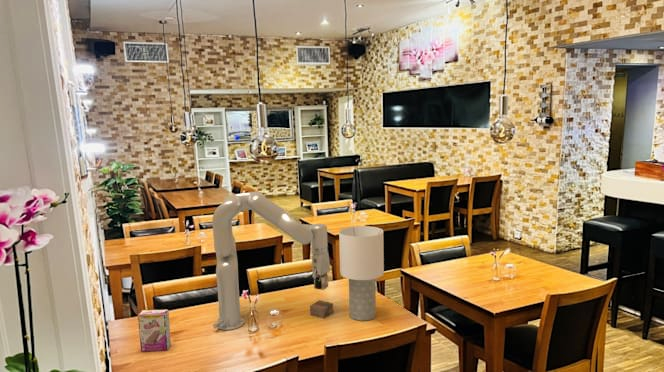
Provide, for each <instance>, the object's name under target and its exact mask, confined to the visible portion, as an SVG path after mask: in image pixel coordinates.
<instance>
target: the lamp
mask: <svg viewBox="0 0 664 372" xmlns="http://www.w3.org/2000/svg"><path fill="white" fill-rule="evenodd" d="M338 236H339V239H338V240H339V241H338V243H339V274H340V276H341V277H343V278H345V279H348V303H349V306H348V307H349V310H348V311H349V317H350V318H351V319H352V320H354V321H357V320H359V321H358V322H366V320H368V321H371V320H373V319H375V318H376V315H377V313H376V312H377V308H376V304H377V303H376V302H377V301H376V292H377V291H376V279H378V278H380V277H382V276H384V274H385V273H384V272H385V271H384V270H385V269H384V268H385V264H384V263H385V262H384V261H385V258H384V257H385V256H384V254H385V253H384V248H385V247H384V244H385V243H384V230H383V228H380V227H376V226H369V225H355V226H348V227H345V228H344V227H343V228H342V229H340V230H339V231H338Z"/></svg>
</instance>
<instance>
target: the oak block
mask: <svg viewBox="0 0 664 372" xmlns="http://www.w3.org/2000/svg"><path fill="white" fill-rule="evenodd" d="M317 277H318V278H319V276H317ZM313 281H314V282H313V285H314V289H315V290H317V289H316V288H315V280H314V279H313ZM320 281H321V284H322V289H319V290H321V291H325V290H326V289H327V288H328V287H329V274H328V273H327V274H323V275H322V276H321V280H320Z"/></svg>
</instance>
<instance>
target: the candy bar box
mask: <svg viewBox="0 0 664 372" xmlns="http://www.w3.org/2000/svg"><path fill="white" fill-rule="evenodd" d="M137 320H138V330H139V342H140V343H139V344H140V351H141V352H142V353H143V352H162V351H164V352H165V351H168V350H170V347H171V345H172V342H171V341H172V340H171V328H170V325H171V324H170V314H169V309H144V310H143V309H142V310H141V311H140V312H139V313H138V315H137Z"/></svg>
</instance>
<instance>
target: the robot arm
mask: <svg viewBox="0 0 664 372" xmlns="http://www.w3.org/2000/svg"><path fill="white" fill-rule="evenodd" d="M250 210H251V211H252V212H253V213H255V214H256V215H258V216H259V217H261V218H262V219H265V220H266V221H267V222H269V223H270V224H271V225H273V226H274V227H276V228H277V229H279V230H280V231H281V232H283V233H284V234H286V236H289V237H290V238H291V239H293V240H295V241H296V242H298V243H300V244H301V245H308V244H310V243H311V254H312V256H311V271H312V276H311V277H312V278H313V281H314V280H315V288H316V289H315V290H320V289H322V284H321V281H320V280H321V276H322V275H323V274H327V275H328V272H329V271H330V269H331V266H330V255H329V249H328V248H329V246H328V244H329V243H328V226H327V225H326V224H325V223H315V224H307V223H306V224H305V223H299V221H297V220H296V219H295V218H293V217H292V216H291V214H289V213H288V212H287V211H286V210H285V209H284V208H283V207H282V206H279V205H278V204H276V202H273V201H272V200H271V199H269V198H267V197H266V196H265V194H264V193H262V192H260V191H256V190H255V191H249V192H242V193H241V192H240V193H234V194H229V195H227V196H226V197H225V198H224V199H223V201H222V203H221V204H220V205H219V206H217V207H216V209H215V210H214V212H213V215H212V221H211V222H212V233H213V234H212V235H213V248H214V251H215V256H216V268H215V276H216V287H217V300H218V311H219V317H218V319H217V321H216V322H215V323H213V324H212V326H213V327H212V328H214V329H217V328H218V329H219V330H222V331H232V330H235V329H236V330H237V329H239V328H240V327H243V325H244V324H245V319H244V318H243V317H241V304H240V303H241V302H240V289H239V287H240V286H239V269H238V268H239V267H238V266H239V263H238V255H237V245H236V238H235V236H234V234H233V225H232V224H233V223H232V222H233V219H234V218H235V217H236V216H238V215H239V214H240V213H241V212H246V211H250ZM317 276H319V278H318V277H317Z"/></svg>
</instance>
